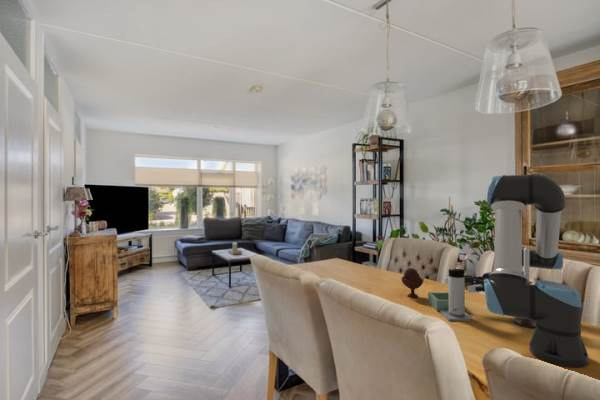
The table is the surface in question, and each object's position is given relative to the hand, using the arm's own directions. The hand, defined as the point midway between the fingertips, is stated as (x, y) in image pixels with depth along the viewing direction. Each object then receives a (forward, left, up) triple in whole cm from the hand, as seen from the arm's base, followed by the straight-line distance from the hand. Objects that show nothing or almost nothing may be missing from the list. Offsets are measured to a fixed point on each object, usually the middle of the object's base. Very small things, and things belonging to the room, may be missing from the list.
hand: (456, 285), depth 140 cm
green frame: (+12, 0, -14) cm, 18 cm away
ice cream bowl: (+27, +11, -14) cm, 32 cm away
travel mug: (-1, 0, -13) cm, 13 cm away
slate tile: (0, 0, -14) cm, 14 cm away
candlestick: (-7, -25, -14) cm, 29 cm away
